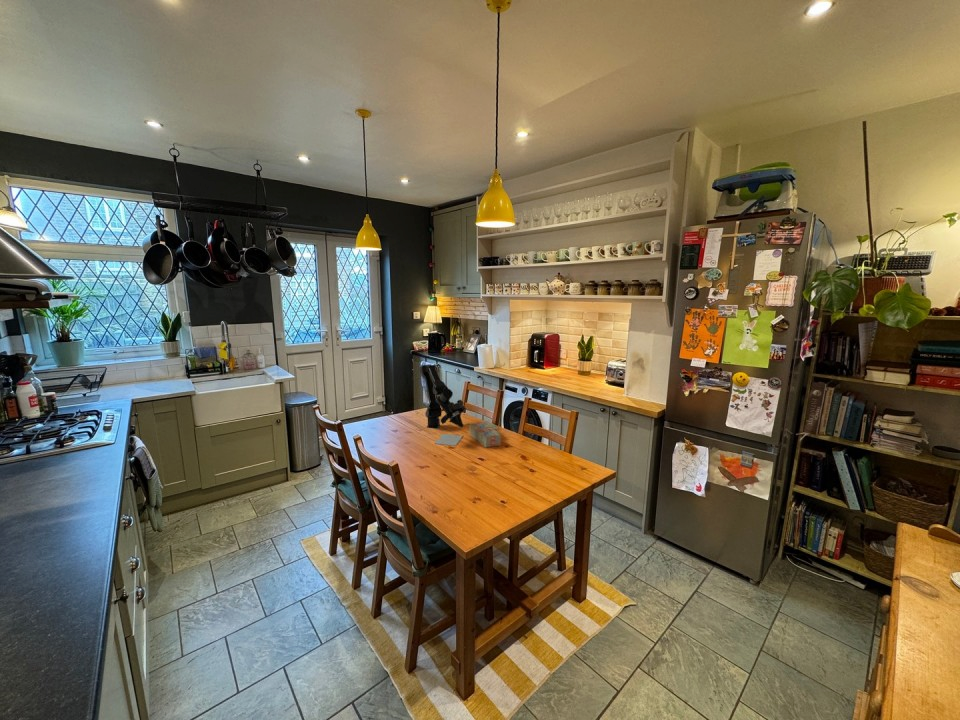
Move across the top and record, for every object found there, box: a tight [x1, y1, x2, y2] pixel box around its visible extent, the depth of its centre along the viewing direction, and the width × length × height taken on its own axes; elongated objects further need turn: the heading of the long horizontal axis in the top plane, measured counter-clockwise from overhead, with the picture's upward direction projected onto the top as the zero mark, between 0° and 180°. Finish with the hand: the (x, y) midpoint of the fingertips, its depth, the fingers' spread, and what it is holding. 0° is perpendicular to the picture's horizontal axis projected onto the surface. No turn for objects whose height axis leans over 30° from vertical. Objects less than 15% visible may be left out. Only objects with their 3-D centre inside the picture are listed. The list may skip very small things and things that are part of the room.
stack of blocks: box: [469, 420, 502, 448], centre depth 216 cm, size 21×6×12 cm
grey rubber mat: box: [434, 433, 463, 447], centre depth 215 cm, size 12×14×1 cm
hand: (462, 426), depth 213 cm, fingers closed
